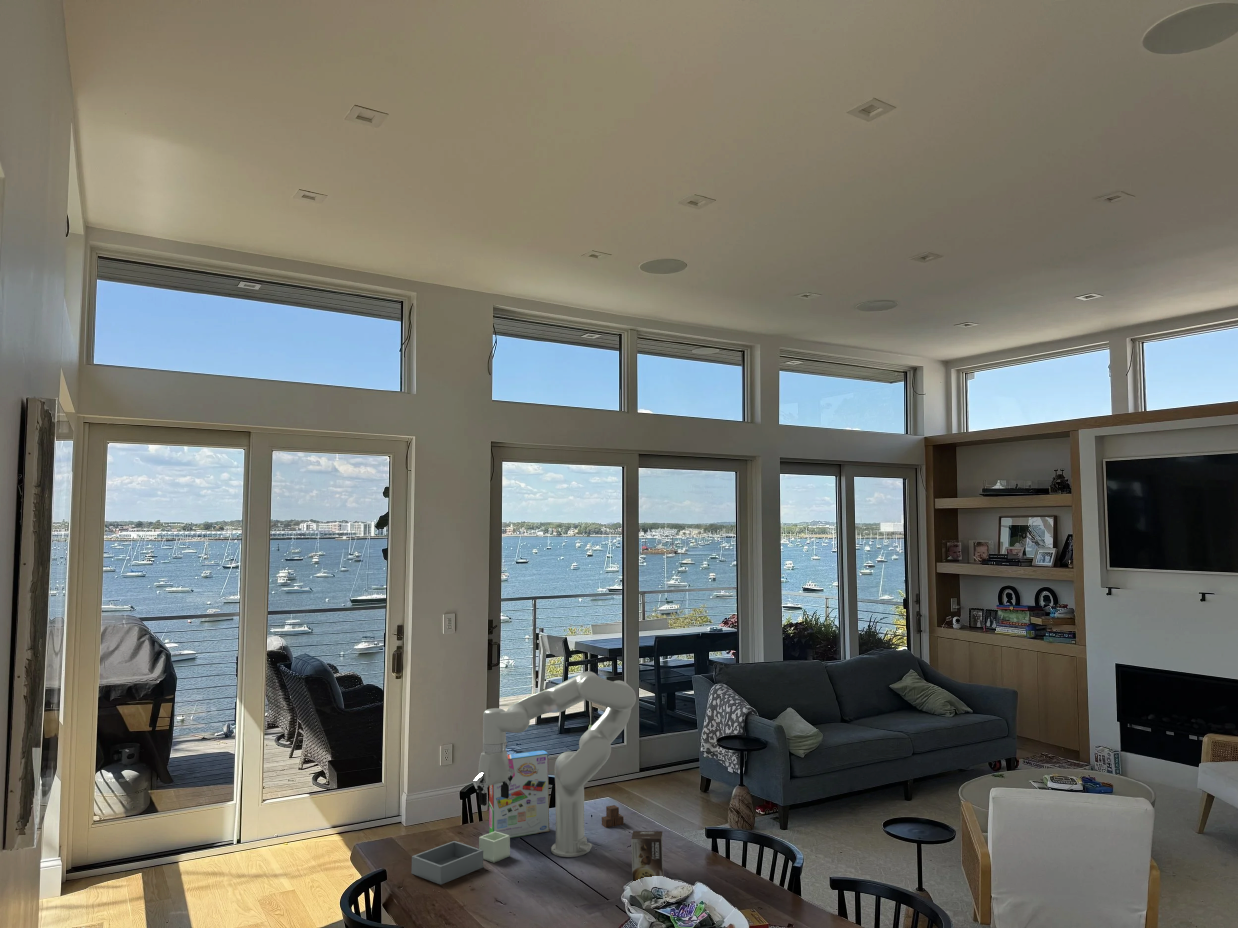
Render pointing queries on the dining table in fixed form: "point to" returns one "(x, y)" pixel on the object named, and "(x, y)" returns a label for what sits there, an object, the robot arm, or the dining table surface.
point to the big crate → (447, 862)
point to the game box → (522, 797)
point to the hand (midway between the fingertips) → (493, 800)
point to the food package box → (647, 854)
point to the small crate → (495, 846)
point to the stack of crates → (612, 817)
